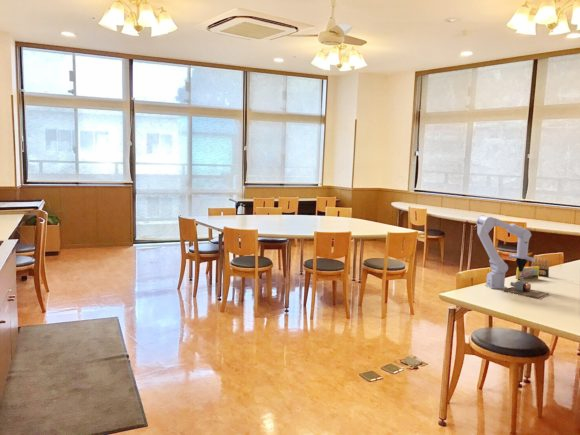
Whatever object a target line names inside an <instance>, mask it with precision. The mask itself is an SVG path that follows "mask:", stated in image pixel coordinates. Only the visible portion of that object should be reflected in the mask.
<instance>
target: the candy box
mask: <svg viewBox="0 0 580 435" xmlns="http://www.w3.org/2000/svg"><path fill="white" fill-rule="evenodd" d="M539 277H540V276H539V267H538V266H536V267H531V266H524V269H523V271H522V272H520V271H519V268H518V266H516V273H515V279H532V280H539Z"/></svg>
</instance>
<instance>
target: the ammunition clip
mask: <svg viewBox="0 0 580 435" xmlns="http://www.w3.org/2000/svg"><path fill="white" fill-rule="evenodd" d="M532 258H535V261H534V262H533V261H531V266H530V267H536V266H538V267H539V276H538V277H544V278H549V276H550V272H549V271H550V260H549V258H548V259H546V258H544V259H543V258H540V257H537V256H536V257H534V256H532Z"/></svg>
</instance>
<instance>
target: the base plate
mask: <svg viewBox="0 0 580 435" xmlns="http://www.w3.org/2000/svg"><path fill="white" fill-rule="evenodd" d="M503 292H504V293H505V292H506V293H508V292H509V293H508V294H513V293H514V295H517V294H518V296H523V297H527V298H532V299H535V300H540V299H541V298H544V297H547V296H549V292H545V291H541V290H535V289H531V288H530V291H524V292H519V291H515V286H511V287H507V288H504V289H503Z"/></svg>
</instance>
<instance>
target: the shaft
mask: <svg viewBox="0 0 580 435" xmlns="http://www.w3.org/2000/svg"><path fill="white" fill-rule="evenodd" d="M531 285H532V284H531V283H530V282H528V283H526V284H525V285H524V289H525V291H530V289H531V288H532V286H531ZM510 286H511V287H513V286H515V282H513V281H511V282H510Z"/></svg>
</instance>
